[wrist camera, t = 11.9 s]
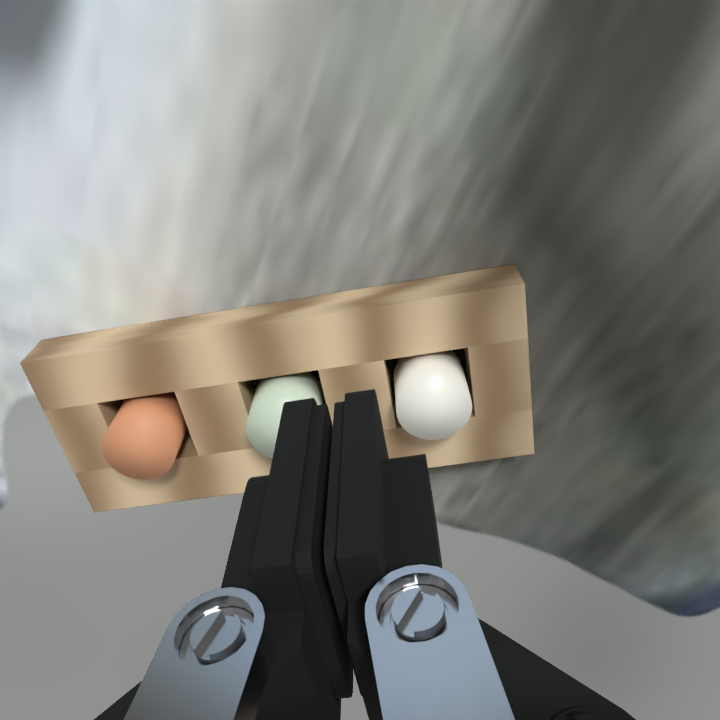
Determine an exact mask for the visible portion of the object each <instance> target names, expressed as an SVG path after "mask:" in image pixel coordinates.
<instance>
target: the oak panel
mask: <svg viewBox="0 0 720 720" xmlns="http://www.w3.org/2000/svg"><path fill="white" fill-rule="evenodd" d="M462 348H464V353H465V362H466V371H467V380H468V389H469V393H470V397H471V401H472V413H471V416H470V418H469V420H468V422H467V424H466V425H465V426H464V427H463V428H462V429H461V430H460V431H459V432H457V433H456V434H454V435H452V436H450V437H447V438H444V439H439V440H426V439H421V438H418V437H415V436H413V435H411V434H410V433H408V432H407V431H406V430H405V429H404V428H403V427H402V426H401V424H400V423H399V421H398V418H397V414H396V402H394V397H393V392H392V386H391V380H390V375H389V369H388V364H387V360H389V359H395V358H402V357H409V356H415V355H422V354H429V353H435V352H442V351H449V350H455V349H462ZM20 364H21V366H22V368H23V370H24V372H25V374H26V376H27V378H28V380H29V382H30V384H31V386H32V388H33V390H34V392H35V394H36V396H37V398H38V400H39V402H40V404H41V406H42V408H43V410H44V412H45V414H46V416H47V418H48V420H49V422H50V424H51V426H52V428H53V430H54V432H55V434H56V436H57V438H58V440H59V442H60V444H61V446H62V448H63V450H64V452H65V454H66V456H67V458H68V460H69V462H70V464H71V467H72V469H73V471H74V472H75V474H76V476H77V479H78V481H79V483H80V485H81V487H82V489H83V491H84V493H85V495H86V496H87V499H88V501H89V503H90V505H91V507H92V509H93V511H94V512H102V511H109V510H116V509H124V508H132V507H139V506H147V505H154V504H162V503H169V502H176V501H184V500H192V499H199V498H207V497H214V496H222V495H229V494H237V493H244V492H245V488H246V484H247V482H248V480H249V479H250V478H251V477H258V476H266V475H269V473H270V468H271V463H272V458H270V457H267V456H265V455H263V454H262V453H260V452H259V451H257V450H256V449H255V448H254V447H253V446H252V444H251V443H250V441H249V439H248V437H247V433H246V423H247V419H248V415H249V412H250V408H251V405H252V401H253V397H254V394H255V388H254V385H253V382H252V380H255V379H262V378H268V377H275V376H282V375H288V374H295V373H302V372H308V371H315V370H318V372H319V376H320V380H321V384H322V388H323V393H324V397H325V401H326V404H327V406H328V409H329V413H330V417H331V421H332V425H333V417H334V405H335V403H336V402H343V401H344V400H345V394H346V393H350V392H357V391H364V390H371V389H375V391H376V395H377V400H378V405H379V410H380V415H381V420H382V425H383V431H384V436H385V441H386V446H387V451H388V456H389V459H391V458H399V457H406V456H413V455H421V454H426V459H427V465H428V468H432V467H439V466H447V465H454V464H462V463H469V462H477V461H484V460H492V459H499V458H507V457H514V456H522V455H529V454H534V436H533V418H532V400H531V383H530V365H529V347H528V329H527V311H526V293H525V283H524V281H523V279H522V277H521V276H520V274H519V272H518V270H517V268H516V267H515V265H514V264H512V265H506V266H500V267H493V268H487V269H481V270H475V271H468V272H462V273H456V274H450V275H443V276H437V277H431V278H425V279H418V280H412V281H406V282H400V283H394V284H387V285H381V286H375V287H369V288H362V289H356V290H350V291H344V292H337V293H331V294H325V295H319V296H312V297H306V298H300V299H294V300H288V301H281V302H275V303H269V304H263V305H256V306H250V307H244V308H238V309H231V310H225V311H219V312H213V313H206V314H200V315H194V316H188V317H181V318H175V319H169V320H163V321H157V322H150V323H144V324H138V325H132V326H125V327H119V328H113V329H107V330H100V331H94V332H88V333H82V334H75V335H69V336H63V337H57V338H50V339H44V340H41V341H40V342H39V343H38V345H37V346H36V347H35V348H34V349H33V350H32V351H31V352H30V353H29V354H28V355H27V356H26V357H25V358H24V359H23V361H22V362H21V363H20ZM168 392H175V395H176V397H177V400H178V403H179V405H180V408H181V411H182V413H183V416H184V419H185V421H186V424H187V427H188V430H189V432H186V434H185V436H184V439H183V441H182V444H181V446H180V449H179V451H178V453H177V456H176V458H175V461H174V463H173V465H172V467H171V469H170V470H169V471H168V472H167V473H165V474H164V475H162V476H160V477H158V478H155V479H149V480H140V479H134V478H130V477H127V476H125V475H123V474H121V473H119V472H117V471H116V470H115V469H113V468H112V467H111V466H110V465H109V464H108V462H107V461H106V459H105V458H104V455H103V453H102V448H101V444H102V439H103V436H104V434H105V433H106V431H107V429H108V428H109V426H110V424H111V423H112V421H113V419H114V418H115V416H116V414H117V412H118V411H119V409H120V407H121V406H122V404H123V400H122V399H128V398H135V397H141V396H148V395H155V394H161V393H168Z"/></svg>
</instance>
